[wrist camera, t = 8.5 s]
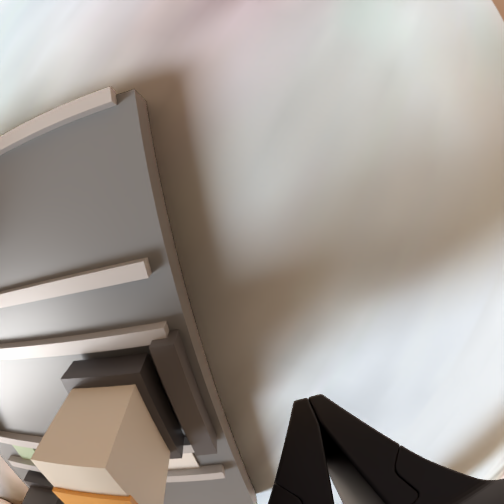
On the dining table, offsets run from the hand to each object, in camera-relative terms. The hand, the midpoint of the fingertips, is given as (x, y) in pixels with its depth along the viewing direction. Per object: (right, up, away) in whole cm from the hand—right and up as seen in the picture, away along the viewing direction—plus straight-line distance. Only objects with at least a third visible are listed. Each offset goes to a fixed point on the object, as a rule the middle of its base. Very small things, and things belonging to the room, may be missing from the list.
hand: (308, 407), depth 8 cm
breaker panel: (-11, -1, +3) cm, 11 cm away
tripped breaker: (-6, -1, +1) cm, 6 cm away
